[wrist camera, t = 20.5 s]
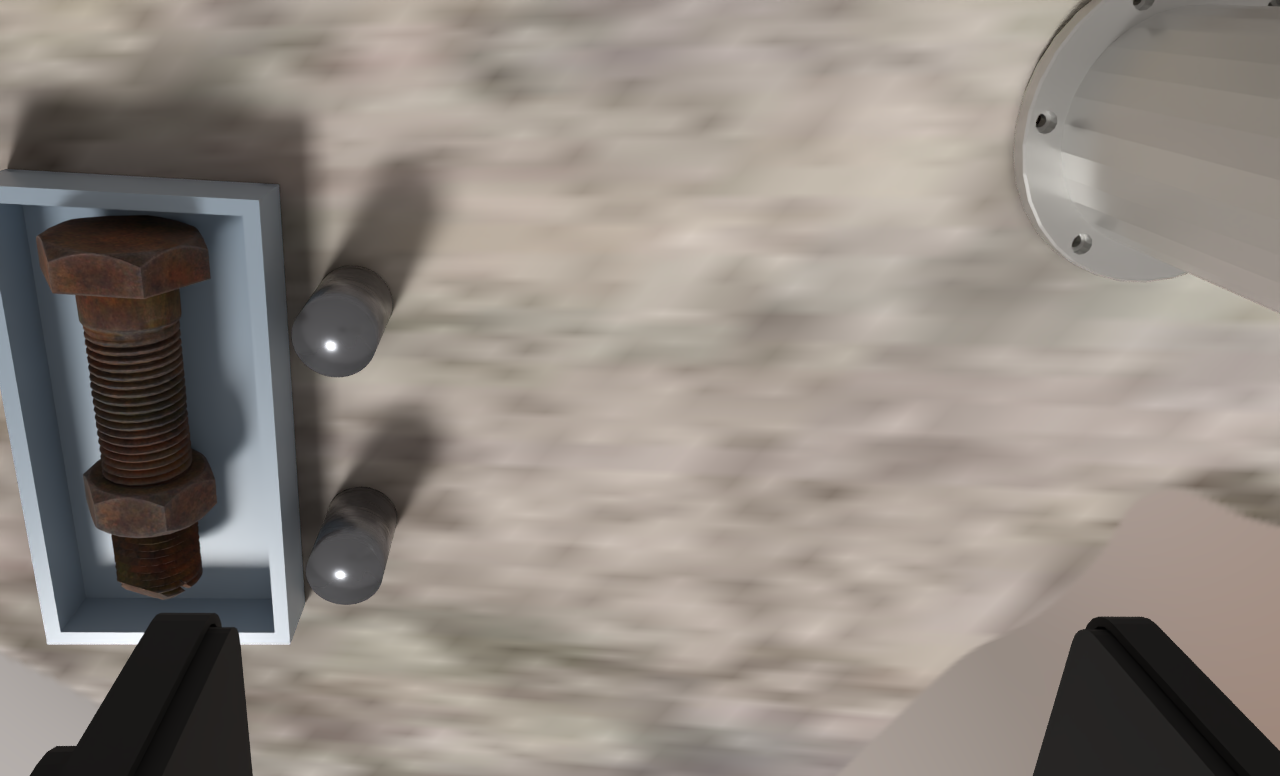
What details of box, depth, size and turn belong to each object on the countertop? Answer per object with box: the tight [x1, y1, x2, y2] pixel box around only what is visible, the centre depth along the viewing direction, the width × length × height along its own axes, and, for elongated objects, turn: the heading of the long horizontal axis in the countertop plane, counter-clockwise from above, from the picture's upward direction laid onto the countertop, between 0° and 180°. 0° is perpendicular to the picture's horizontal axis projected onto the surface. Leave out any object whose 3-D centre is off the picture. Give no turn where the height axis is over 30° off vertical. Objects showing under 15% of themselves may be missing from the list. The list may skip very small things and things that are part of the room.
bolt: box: [36, 215, 217, 600], centre depth 38 cm, size 6×5×15 cm
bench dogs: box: [292, 266, 397, 605], centre depth 39 cm, size 3×13×4 cm, turn 176°
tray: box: [0, 169, 305, 644], centre depth 39 cm, size 10×19×3 cm, turn 176°
